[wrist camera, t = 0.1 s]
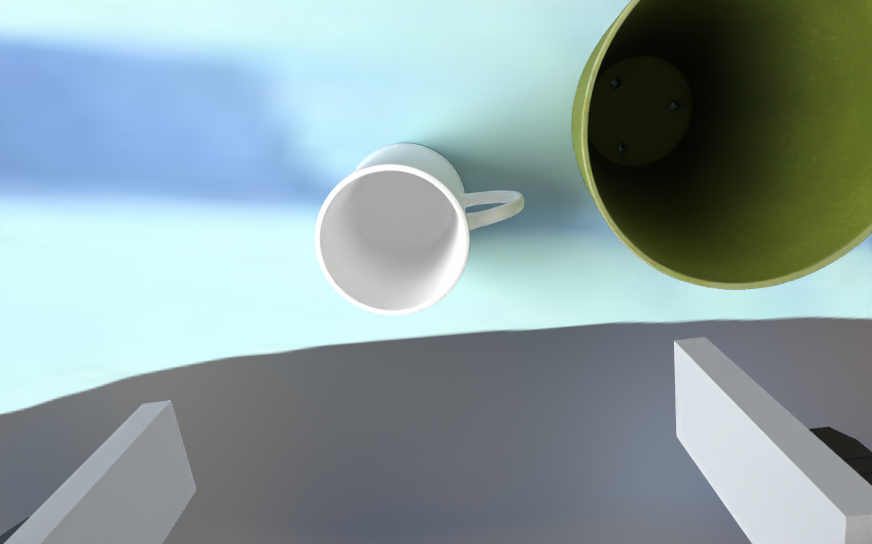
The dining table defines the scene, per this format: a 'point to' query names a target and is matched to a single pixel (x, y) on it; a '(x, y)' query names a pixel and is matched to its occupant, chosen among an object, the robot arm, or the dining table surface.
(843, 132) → the flower pot
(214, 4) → the dining table surface
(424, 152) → the mug
